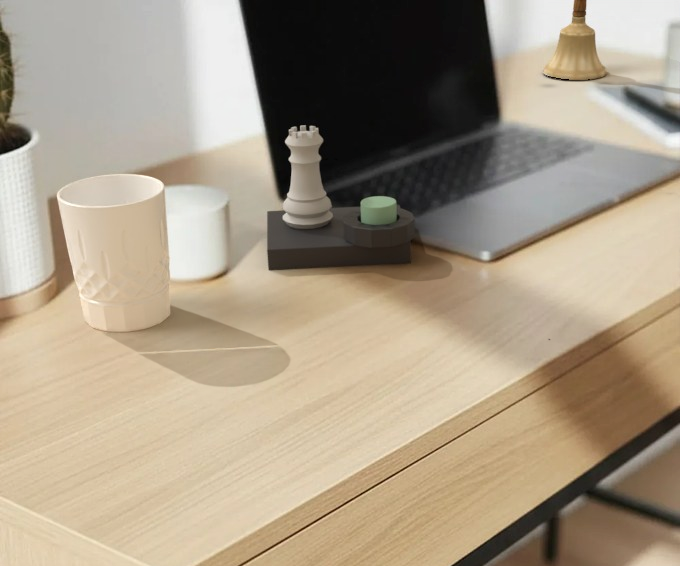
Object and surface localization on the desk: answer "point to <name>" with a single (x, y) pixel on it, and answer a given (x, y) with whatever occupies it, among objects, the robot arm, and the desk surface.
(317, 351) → the desk surface
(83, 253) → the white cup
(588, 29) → the hand bell
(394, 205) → the button
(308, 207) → the rook chess piece
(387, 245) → the scale
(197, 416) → the desk surface
